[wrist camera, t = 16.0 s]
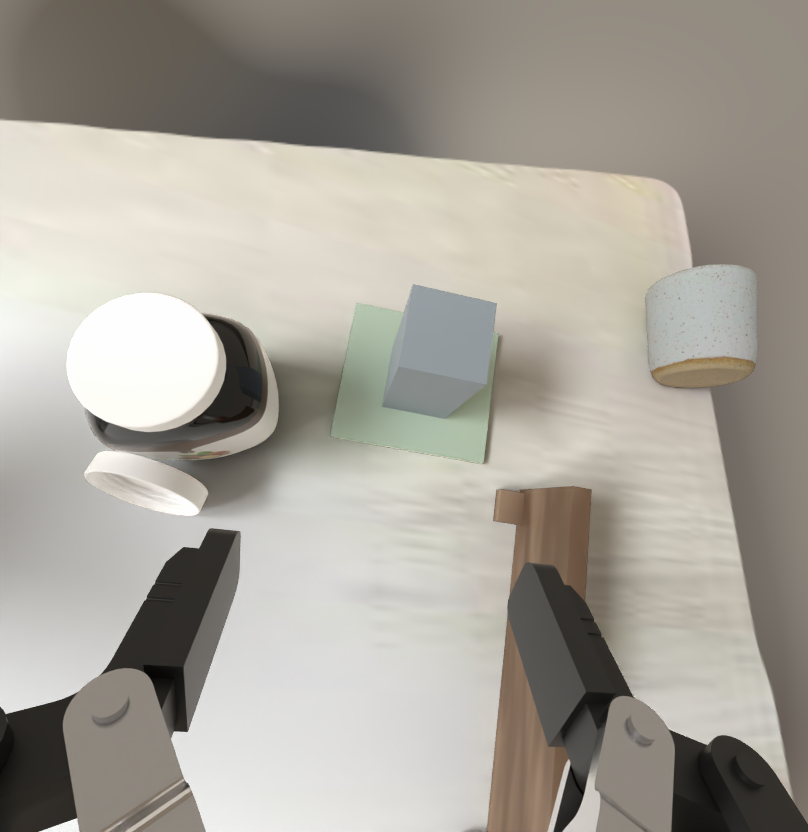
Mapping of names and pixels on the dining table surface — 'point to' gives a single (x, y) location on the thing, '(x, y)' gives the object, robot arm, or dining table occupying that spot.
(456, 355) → the slate block
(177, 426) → the spread jar
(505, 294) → the dining table surface
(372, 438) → the sage mat
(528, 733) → the walnut screen
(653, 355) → the ceramic mug
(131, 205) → the dining table surface
